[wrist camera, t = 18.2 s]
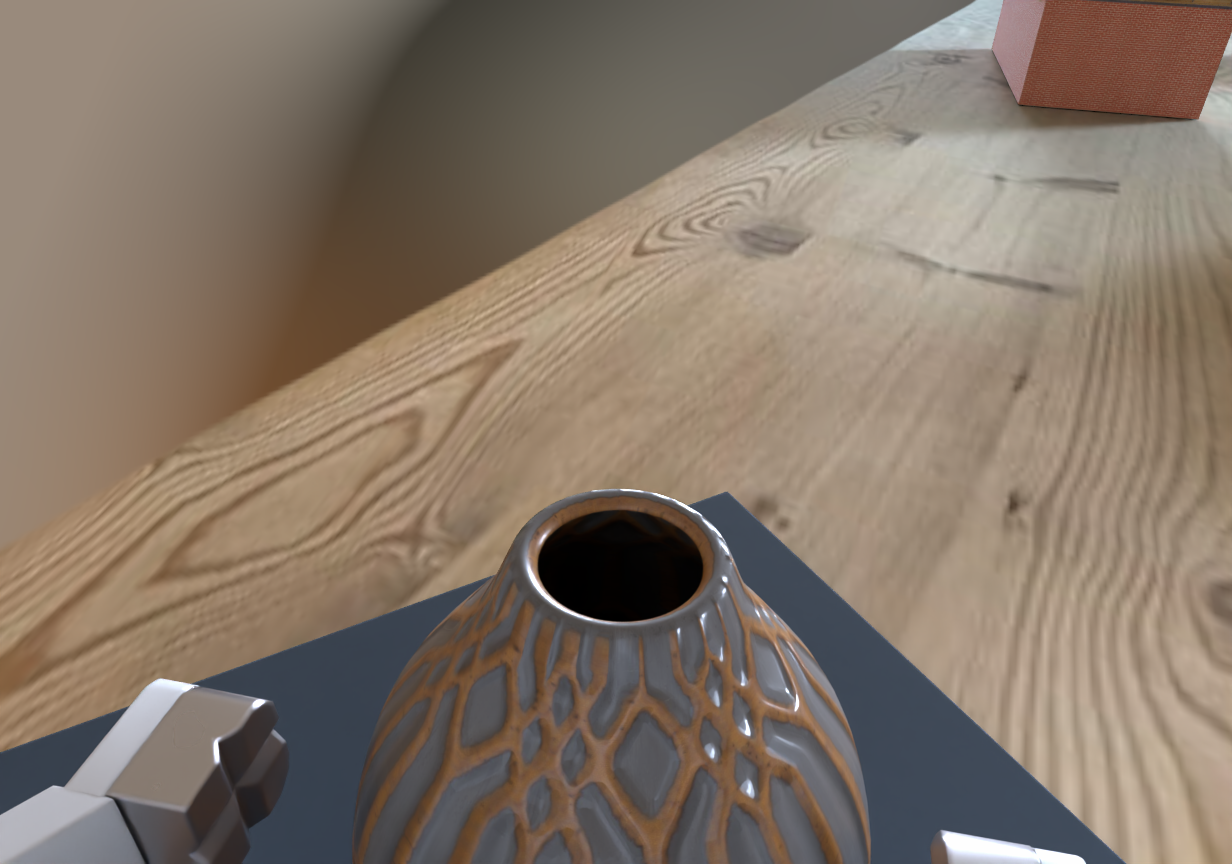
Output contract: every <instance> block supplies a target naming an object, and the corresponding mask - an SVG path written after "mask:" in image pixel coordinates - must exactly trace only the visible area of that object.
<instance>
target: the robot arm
mask: <svg viewBox="0 0 1232 864" xmlns="http://www.w3.org/2000/svg"><path fill="white" fill-rule="evenodd" d="M278 719H279V716H278V714H277V711H276V708H275V705H274V703H273V701H268V700H264V699H259V698H254V697H249V696H244V695H239V694H234V693H229V692H224V691H219V690H214V689H209V688H204V687H200V686H198V685H192V684H187V683H182V682H176V681H171V680H166V679H161V678H159V679H157V680H156V681H154V682H153V683H151V684H150V685H148V686H147V687H145V688H144V689H143V690H142V692H141V693H140V694H139V695H138V697H137V698H136V699H135V700H134V701H133V703H132V704H131V705H130V706H129V708H128V709H127V710H126V711H125V713H124V714H123V715H122V716H121V717H120V719H119V720H118V721H117V722H116V724H115V725H114V726H113V727H112V729H111V730H110V731H109V732H108V734H107V735H106V736H105V737H104V738H103V740H102V741H101V742H100V743H99V745H98V746H97V747H96V748H95V750H94V751H93V752H92V753H91V754H90V756H89V757H88V758H87V759H86V761H85V762H84V763H83V764H82V766H81V767H80V768H79V769H78V771H77V772H76V773H75V774H74V775H73V777H72V778H71V779H70V780H69V782H68V783H67V784H66V785H65V787H60V786H54V785H53V786H51V787H49V788H48V789H46V790H44V791H42V792H41V793H39V794H37V795H35V796H33V797H32V798H30V799H28V800H26V801H25V802H23V803H21V804H19V805H17V806H16V807H14V808H12V809H10V810H9V811H7V812H5V813H3V814H1V815H0V864H242V862H243V860H244V859H245V857H246V855H247V854H248V852H249V850H250V848H251V843H250V833H249V828H251V827H252V826H254V825H255V824H257V823H258V822H260V821H261V820H263V819H264V818H266V817H267V816H269V815H270V814H271V812H272V810H273V808H274V806H275V804H276V803H277V801H278V799H279V797H280V795H281V794H282V790H283V787H284V784H285V781H286V777H287V774H288V771H289V751H288V747H287V743H286V741H285V740H284V739H283V738H282V737H281V736H280V735H279V734H278V733H277V732H276V731H275V730H274V729H273V728H274V726H275V724H276V723H277V721H278ZM930 851H931V864H1086V863H1085V861H1084V860H1083V859H1082V858H1080V857H1079V856H1077V855H1071V854H1065V853H1060V852H1054V851H1048V850H1043V849H1037V848H1032V847H1030V846H1028V845H1023V844H1017V843H1011V842H1006V841H1000V840H994V839H989V838H983V837H977V836H972V835H966V834H960V833H955V832H949V831H943V830H940V831H939V832H937V833H936V834H935V836H934V838H933V841H932V843H931V846H930Z"/></svg>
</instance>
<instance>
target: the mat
mask: <svg viewBox="0 0 1232 864" xmlns="http://www.w3.org/2000/svg"><path fill="white" fill-rule="evenodd" d="M688 506H689V507H690V508H692V509H693V510H695V511H697V512H698V513H699V514H701V515H702V516H703V517H705V518H706V519H707V520H708V521H709V522H710V523H711V524H712V525H713V526H714V527H715V528H716V529H717V530H718V532H719V533H720V534H721V536H722V537H723V539H724V541H725V542H726V544H727V546H728V548H729V550H730V552H731V554H732V557H733V559H734V562H735V564H736V566H737V569H738V571H739V574H740V576H741V578H742V580H743V582H744V583H745V584H746V585H747V586H748V587H749V588H750V589H751V590H752V591H753V592H754V593H755V594H757V595H758V596H759V597H760V598H761V599H762V600H763V601H764V602H765V603H766V604H767V605H768V606H769V607H770V608H771V609H772V610H773V611H774V612H775V613H776V614H777V615H778V616H779V617H780V618H781V619H782V620H783V621H784V622H785V623H786V624H787V625H788V626H789V628H790V629H791V630H792V631H793V632H794V633H795V634H796V635H797V636H798V637H799V639H800V640H801V641H802V642H803V643H804V645H805V646H806V647H807V649H808V650H809V651H810V653H811V654H812V656H813V657H814V659H815V660H816V662H817V663H818V665H819V666H820V668H821V669H822V671H823V672H824V674H825V675H826V677H827V679H828V680H829V682H830V684H831V686H832V687H833V689H834V691H835V694H836V696H837V698H838V700H839V702H840V705H841V707H842V709H843V711H844V714H845V716H846V719H847V721H848V724H849V727H850V729H851V732H852V736H853V739H854V743H855V746H856V750H857V753H858V757H859V761H860V764H861V769H862V774H863V780H864V785H865V791H866V797H867V803H868V813H869V824H870V837H871V864H931V851H930V846H931V843H932V841H933V838H934V836H935V834H936V833H937V832H939V831H940V830H943V831H949V832H955V833H960V834H966V835H972V836H977V837H983V838H989V839H994V840H1000V841H1006V842H1011V843H1017V844H1023V845H1028V846H1030V847H1032V848H1037V849H1043V850H1048V851H1054V852H1060V853H1065V854H1071V855H1077V856H1079V857H1080V858H1082V859H1083V860H1084V861H1085V863H1086V864H1126V863H1125V862H1124V861H1123V860H1122V859H1121V858H1120V857H1119V856H1118V855H1117V854H1115V853H1114V852H1113V851H1112V850H1111V849H1110V848H1109V847H1108V846H1107V845H1106V844H1105V843H1104V842H1103V841H1102V840H1100V839H1099V838H1098V837H1097V836H1096V835H1095V834H1094V833H1093V832H1092V831H1091V830H1090V829H1089V828H1088V827H1087V826H1085V825H1084V824H1083V823H1082V822H1081V821H1080V820H1079V819H1078V818H1077V817H1076V816H1075V815H1074V814H1073V813H1072V812H1070V811H1069V810H1068V809H1067V808H1066V807H1065V806H1064V805H1063V804H1062V803H1061V802H1060V801H1059V800H1058V799H1057V798H1055V797H1054V796H1053V795H1052V794H1051V793H1050V792H1049V791H1048V790H1047V789H1046V788H1045V787H1044V786H1043V785H1041V784H1040V783H1039V782H1038V781H1037V780H1036V779H1035V778H1034V777H1033V776H1032V775H1031V774H1030V773H1029V772H1028V771H1026V770H1025V769H1024V768H1023V767H1022V766H1021V765H1020V764H1019V763H1018V762H1017V761H1016V760H1015V759H1014V758H1013V757H1011V756H1010V755H1009V754H1008V753H1007V752H1006V751H1005V750H1004V749H1003V748H1002V747H1001V746H1000V745H999V744H998V743H996V742H995V741H994V740H993V739H992V738H991V737H990V736H989V735H988V734H987V733H986V732H985V731H984V730H983V729H981V728H980V727H979V726H978V725H977V724H976V723H975V722H974V721H973V720H972V719H971V718H970V717H969V716H968V715H966V714H965V713H964V712H963V711H962V710H961V709H960V708H959V707H958V706H957V705H956V704H955V703H954V702H953V701H951V700H950V699H949V698H948V697H947V696H946V695H945V694H944V693H943V692H942V691H941V690H940V689H939V688H937V687H936V686H935V685H934V684H933V683H932V682H931V681H930V680H929V679H928V678H927V677H926V676H925V675H924V674H922V673H921V672H920V671H919V670H918V669H917V668H916V667H915V666H914V665H913V664H912V663H911V662H910V661H909V660H907V659H906V658H905V657H904V656H903V655H902V654H901V653H900V652H899V651H898V650H897V649H896V648H895V647H894V646H892V645H891V644H890V643H889V642H888V641H887V640H886V639H885V638H884V637H883V636H882V635H881V634H880V633H879V632H877V631H876V630H875V629H874V628H873V627H872V626H871V625H870V624H869V623H868V622H867V621H866V620H865V619H864V618H862V617H861V616H860V615H859V614H858V613H857V612H856V611H855V610H854V609H853V608H852V607H851V606H850V605H849V604H847V603H846V602H845V601H844V600H843V599H842V598H841V597H840V596H839V595H838V594H837V593H836V592H835V591H833V590H832V589H831V588H830V587H829V586H828V585H827V584H826V583H825V582H824V581H823V580H822V579H821V578H820V577H818V576H817V575H816V574H815V573H814V572H813V571H812V570H811V569H810V568H809V567H808V566H807V565H806V564H805V563H803V562H802V561H801V560H800V559H799V558H798V557H797V556H796V555H795V554H794V553H793V552H792V551H791V550H790V549H788V548H787V547H786V546H785V545H784V544H783V543H782V542H781V541H780V540H779V539H778V538H777V537H776V536H775V535H773V534H772V533H771V532H770V531H769V530H768V529H767V528H766V527H765V526H764V525H763V524H762V523H761V522H760V521H758V520H757V519H756V518H755V517H754V516H753V515H752V514H751V513H750V512H749V511H748V510H747V509H746V508H745V507H743V506H742V505H741V504H740V503H739V502H738V501H737V500H736V499H735V498H734V497H733V496H732V495H731V494H729V493H728V492H724V493H721V494H718V495H716V496H713V497H710V498H707V499H704V500H702V501H699V502H696V503H693V504H691V505H688ZM493 576H495V575H493ZM493 576H490V577H487V578H485V579H482V580H479V581H476V582H473V583H471V584H468V585H465V586H462V587H460V588H457V589H454V590H451V591H448V592H446V593H443V594H440V595H437V596H435V597H432V598H429V599H426V600H423V601H421V602H418V603H415V604H412V605H409V606H407V607H404V608H401V609H398V610H396V611H393V612H390V613H387V614H384V615H382V616H379V617H376V618H373V619H371V620H368V621H365V622H362V623H359V624H357V625H354V626H351V627H348V628H345V629H343V630H340V631H337V632H334V633H332V634H329V635H326V636H323V637H320V638H318V639H315V640H312V641H309V642H307V643H304V644H301V645H298V646H295V647H293V648H290V649H287V650H284V651H281V652H279V653H276V654H273V655H270V656H268V657H265V658H262V659H259V660H256V661H254V662H251V663H248V664H245V665H243V666H240V667H237V668H234V669H231V670H229V671H226V672H223V673H220V674H218V675H215V676H212V677H209V678H206V679H204V680H201V681H198V682H195V683H192V685H198V686H200V687H204V688H209V689H214V690H219V691H224V692H229V693H234V694H239V695H244V696H249V697H254V698H259V699H264V700H268V701H273V703H274V705H275V708H276V711H277V714H278V716H279V719H278V721H277V723H276V724H275V726H274V728H273V729H274V730H275V731H276V732H277V733H278V734H279V735H280V736H281V737H282V738H283V739H284V740H285V741H286V743H287V747H288V751H289V771H288V774H287V777H286V781H285V784H284V787H283V790H282V794H281V795H280V797H279V799H278V801H277V803H276V804H275V806H274V808H273V810H272V812H271V814H270V815H269V816H267V817H266V818H264V819H263V820H261V821H260V822H258V823H257V824H255V825H254V826H252V827H251V828H249V833H250V843H251V848H250V850H249V852H248V854H247V855H246V857H245V859H244V860H243V862H242V864H352V837H353V823H354V815H355V808H356V801H357V795H358V789H359V783H360V779H361V775H362V771H363V766H364V762H365V758H366V755H367V751H368V747H369V744H370V741H371V738H372V735H373V732H374V730H375V727H376V724H377V721H378V718H379V716H380V713H381V711H382V709H383V707H384V704H385V702H386V700H387V698H388V696H389V694H390V692H391V690H392V688H393V686H394V684H395V683H396V681H397V679H398V677H399V675H400V673H401V672H402V670H403V669H404V667H405V666H406V664H407V663H408V661H409V660H410V659H411V657H412V656H413V655H414V653H415V652H416V651H417V649H418V648H419V647H420V645H421V644H422V643H423V642H424V640H425V639H426V638H427V637H428V635H429V634H430V633H431V632H432V631H433V630H434V629H435V628H436V627H437V626H438V625H439V624H440V623H441V622H442V621H443V620H444V619H445V618H446V617H447V616H448V615H449V614H450V613H451V612H452V611H453V610H454V609H455V608H456V607H457V606H459V605H460V604H461V603H462V602H463V601H464V600H466V599H467V598H468V597H469V596H470V595H471V594H473V593H474V592H475V591H476V590H477V589H479V588H480V587H481V586H482V585H483V584H485V583H486V582H487V581H488V580H489V579H491V578H492V577H493ZM128 708H129V706H128V707H126V708H123V709H120V710H117V711H115V712H112V713H109V714H106V715H103V716H101V717H98V718H95V719H92V720H90V721H87V722H84V723H81V724H78V725H76V726H73V727H70V728H67V729H64V730H62V731H59V732H56V733H53V734H51V735H48V736H45V737H42V738H39V739H37V740H34V741H31V742H28V743H26V744H23V745H20V746H17V747H14V748H12V749H9V750H6V751H3V752H0V815H1V814H3V813H5V812H7V811H9V810H10V809H12V808H14V807H16V806H17V805H19V804H21V803H23V802H25V801H26V800H28V799H30V798H32V797H33V796H35V795H37V794H39V793H41V792H42V791H44V790H46V789H48V788H49V787H51V786H53V785H54V786H60V787H65V785H66V784H67V783H68V782H69V780H70V779H71V778H72V777H73V775H74V774H75V773H76V772H77V771H78V769H79V768H80V767H81V766H82V764H83V763H84V762H85V761H86V759H87V758H88V757H89V756H90V754H91V753H92V752H93V751H94V750H95V748H96V747H97V746H98V745H99V743H100V742H101V741H102V740H103V738H104V737H105V736H106V735H107V734H108V732H109V731H110V730H111V729H112V727H113V726H114V725H115V724H116V722H117V721H118V720H119V719H120V717H121V716H122V715H123V714H124V713H125V711H126V710H127V709H128Z"/></svg>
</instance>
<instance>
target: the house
mask: <svg viewBox="0 0 1232 864" xmlns="http://www.w3.org/2000/svg"><path fill="white" fill-rule="evenodd" d="M1231 32H1232V0H1003V4H1002V9H1001V13H1000V17H999V21H998V25H997V29H996V33H995V37H994V41H993V46H992V50H993V52H994V54H995V56H996V58H997V61H998V63H999V65H1000V67H1001V69H1002V71H1003V73H1004V75H1005V77H1006V80H1007V82H1008V84H1009V86H1010V88H1011V90H1012V92H1013V94H1014V96H1015V99H1016V101H1017V103H1018V105H1030V106H1042V107H1054V108H1066V109H1078V110H1090V111H1103V112H1115V113H1127V114H1139V115H1151V116H1163V117H1175V118H1187V119H1199V116H1200V114H1201V111H1202V109H1203V106H1204V103H1205V101H1206V98H1207V95H1208V93H1209V90H1210V88H1211V85H1212V82H1213V80H1214V77H1215V74H1216V72H1217V69H1218V67H1219V64H1220V61H1221V59H1222V56H1223V53H1224V51H1225V48H1226V46H1227V43H1228V40H1229V38H1230V35H1231Z"/></svg>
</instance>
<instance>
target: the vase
mask: <svg viewBox="0 0 1232 864" xmlns="http://www.w3.org/2000/svg"><path fill="white" fill-rule="evenodd" d="M352 864H871V837H870V824H869V813H868V803H867V797H866V791H865V785H864V780H863V774H862V769H861V764H860V761H859V757H858V753H857V750H856V746H855V743H854V739H853V736H852V732H851V729H850V727H849V724H848V721H847V719H846V716H845V714H844V711H843V709H842V707H841V705H840V702H839V700H838V698H837V696H836V694H835V691H834V689H833V687H832V686H831V684H830V682H829V680H828V679H827V677H826V675H825V674H824V672H823V671H822V669H821V668H820V666H819V665H818V663H817V662H816V660H815V659H814V657H813V656H812V654H811V653H810V651H809V650H808V649H807V647H806V646H805V645H804V643H803V642H802V641H801V640H800V639H799V637H798V636H797V635H796V634H795V633H794V632H793V631H792V630H791V629H790V628H789V626H788V625H787V624H786V623H785V622H784V621H783V620H782V619H781V618H780V617H779V616H778V615H777V614H776V613H775V612H774V611H773V610H772V609H771V608H770V607H769V606H768V605H767V604H766V603H765V602H764V601H763V600H762V599H761V598H760V597H759V596H758V595H757V594H755V593H754V592H753V591H752V590H751V589H750V588H749V587H748V586H747V585H746V584H745V583H744V582H743V580H742V578H741V576H740V574H739V571H738V569H737V566H736V564H735V562H734V559H733V557H732V554H731V552H730V550H729V548H728V546H727V544H726V542H725V541H724V539H723V537H722V536H721V534H720V533H719V532H718V530H717V529H716V528H715V527H714V526H713V525H712V524H711V523H710V522H709V521H708V520H707V519H706V518H705V517H703V516H702V515H701V514H699V513H698V512H697V511H695V510H693V509H692V508H690V507H689V506H687V505H685V504H683V503H681V502H678V501H676V500H674V499H671V498H668V497H665V496H662V495H659V494H655V493H650V492H645V491H639V490H629V489H606V490H596V491H590V492H585V493H581V494H577V495H573V496H570V497H567V498H565V499H562V500H560V501H557V502H555V503H553V504H551V505H550V506H548V507H546V508H544V509H543V510H542V511H540V512H539V513H537V514H536V515H535V516H534V517H532V518H531V519H530V520H529V521H528V522H527V523H526V524H525V525H524V527H523V528H522V529H521V531H520V532H519V533H518V535H517V536H516V538H515V539H514V541H513V543H512V545H511V547H510V549H509V551H508V553H507V555H506V557H505V559H504V561H503V563H502V565H501V567H500V569H499V570H498V572H497V574H496V575H495V576H493V577H492V578H491V579H489V580H488V581H487V582H486V583H485V584H483V585H482V586H481V587H480V588H479V589H477V590H476V591H475V592H474V593H473V594H471V595H470V596H469V597H468V598H467V599H466V600H464V601H463V602H462V603H461V604H460V605H459V606H457V607H456V608H455V609H454V610H453V611H452V612H451V613H450V614H449V615H448V616H447V617H446V618H445V619H444V620H443V621H442V622H441V623H440V624H439V625H438V626H437V627H436V628H435V629H434V630H433V631H432V632H431V633H430V634H429V635H428V637H427V638H426V639H425V640H424V642H423V643H422V644H421V645H420V647H419V648H418V649H417V651H416V652H415V653H414V655H413V656H412V657H411V659H410V660H409V661H408V663H407V664H406V666H405V667H404V669H403V670H402V672H401V673H400V675H399V677H398V679H397V681H396V683H395V684H394V686H393V688H392V690H391V692H390V694H389V696H388V698H387V700H386V702H385V704H384V707H383V709H382V711H381V713H380V716H379V718H378V721H377V724H376V727H375V730H374V732H373V735H372V738H371V741H370V744H369V747H368V751H367V755H366V758H365V762H364V766H363V771H362V775H361V779H360V783H359V789H358V795H357V801H356V808H355V815H354V823H353V837H352Z"/></svg>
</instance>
